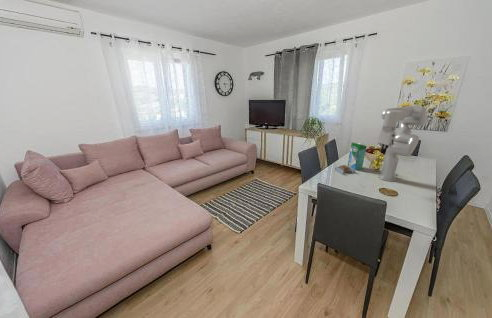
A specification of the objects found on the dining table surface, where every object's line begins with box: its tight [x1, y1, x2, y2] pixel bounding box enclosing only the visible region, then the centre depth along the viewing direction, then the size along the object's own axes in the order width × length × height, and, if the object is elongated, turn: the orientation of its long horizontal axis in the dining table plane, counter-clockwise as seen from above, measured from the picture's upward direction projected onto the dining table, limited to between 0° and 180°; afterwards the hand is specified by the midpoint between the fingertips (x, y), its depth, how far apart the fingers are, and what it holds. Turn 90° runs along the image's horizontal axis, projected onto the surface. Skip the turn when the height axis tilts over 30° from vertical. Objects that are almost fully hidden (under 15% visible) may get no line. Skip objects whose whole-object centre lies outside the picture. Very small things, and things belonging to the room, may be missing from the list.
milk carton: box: [347, 142, 368, 171], centre depth 185 cm, size 9×9×25 cm
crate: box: [338, 164, 350, 174], centre depth 180 cm, size 6×6×5 cm
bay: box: [334, 165, 356, 175], centre depth 180 cm, size 13×10×4 cm
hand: (382, 153), depth 145 cm, fingers closed
